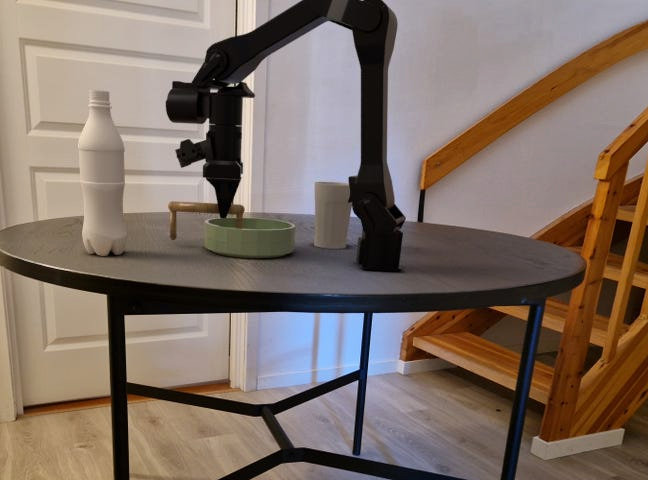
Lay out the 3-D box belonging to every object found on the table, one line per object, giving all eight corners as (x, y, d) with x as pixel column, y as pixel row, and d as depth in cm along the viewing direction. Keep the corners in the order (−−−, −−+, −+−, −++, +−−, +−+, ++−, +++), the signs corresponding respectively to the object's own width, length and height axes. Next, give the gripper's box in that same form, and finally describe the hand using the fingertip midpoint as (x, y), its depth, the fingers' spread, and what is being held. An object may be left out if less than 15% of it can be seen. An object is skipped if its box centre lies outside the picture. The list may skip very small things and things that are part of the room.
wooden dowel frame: (166, 241, 110) (166, 202, 108) (170, 237, 115) (170, 199, 113) (263, 246, 111) (265, 207, 109) (263, 241, 116) (265, 204, 113)
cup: (336, 251, 117) (342, 185, 113) (302, 245, 122) (306, 182, 118) (357, 246, 123) (363, 184, 119) (323, 241, 128) (328, 181, 124)
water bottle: (73, 252, 102) (64, 88, 93) (105, 247, 108) (100, 92, 99) (105, 259, 98) (98, 89, 90) (136, 253, 104) (133, 93, 96)
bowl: (290, 245, 120) (292, 219, 119) (295, 261, 105) (297, 232, 104) (208, 241, 120) (208, 215, 118) (201, 256, 105) (201, 227, 103)
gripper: (184, 124, 115) (184, 209, 120) (171, 121, 97) (172, 221, 103) (244, 127, 115) (241, 212, 120) (241, 125, 98) (238, 225, 103)
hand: (223, 217), depth 112 cm, fingers closed on wooden dowel frame
